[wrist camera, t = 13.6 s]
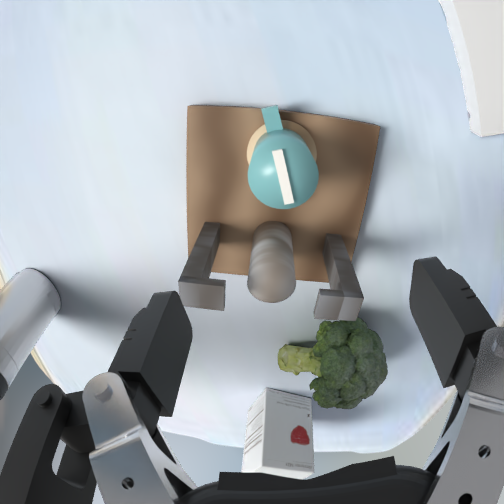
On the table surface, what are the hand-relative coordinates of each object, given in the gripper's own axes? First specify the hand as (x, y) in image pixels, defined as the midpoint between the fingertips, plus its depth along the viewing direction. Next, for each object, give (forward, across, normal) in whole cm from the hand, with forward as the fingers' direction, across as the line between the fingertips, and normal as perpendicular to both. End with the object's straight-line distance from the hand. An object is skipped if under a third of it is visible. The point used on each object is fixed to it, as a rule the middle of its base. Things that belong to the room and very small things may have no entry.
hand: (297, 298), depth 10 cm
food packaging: (+23, -28, -12) cm, 38 cm away
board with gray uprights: (+22, +1, +5) cm, 23 cm away
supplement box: (+23, +6, +43) cm, 49 cm away
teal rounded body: (+20, 0, 0) cm, 20 cm away
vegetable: (+23, -3, +26) cm, 35 cm away
